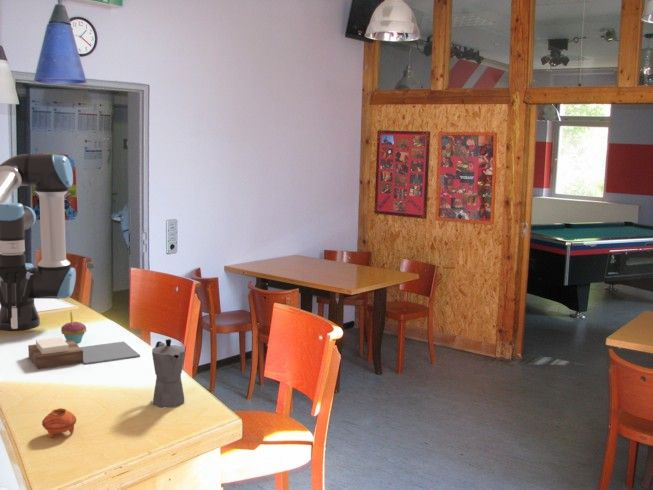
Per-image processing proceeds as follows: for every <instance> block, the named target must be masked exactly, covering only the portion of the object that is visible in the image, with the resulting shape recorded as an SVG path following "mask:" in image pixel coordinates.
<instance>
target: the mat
mask: <svg viewBox="0 0 653 490" xmlns="http://www.w3.org/2000/svg"><path fill="white" fill-rule="evenodd" d="M79 347H80V348H81V349H82V350H83V363H82V364H84V365H92V364H93V365H94V364H98V363H105V362H112V361H119V360H120V361H121V360H125V359H126V360H127V359H133V358H140V357H141V354H139V353H138V352H137V351H136V350H135V349H133V348H132V347H131V346H130V345H128V344H127V342H125V341H117V342H110V343H102V344H94V345H87V346H79Z"/></svg>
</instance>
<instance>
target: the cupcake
mask: <svg viewBox="0 0 653 490" xmlns="http://www.w3.org/2000/svg"><path fill="white" fill-rule="evenodd" d="M69 315H70V322H67V323H65V324H63V325H62V326H61V328H60V329H61V330H60V331H61V334H62V335H64V338H65V341H67V340H73V341H74V342H75V343H76V344H79V343H81V342H82V340H83V337H84V335H85V333H86V332H87V326H86V325H85V324H84V323H82V322H78V321H74V317H73V312H72V310H70V312H69Z"/></svg>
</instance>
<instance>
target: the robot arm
mask: <svg viewBox="0 0 653 490" xmlns="http://www.w3.org/2000/svg"><path fill="white" fill-rule="evenodd" d="M73 179H74V174H73V167H72V164H71V162H70V160H69V158H68V157H67V156H66V155H61V154H53V153H52V154H50V153H49V154H42V153H41V154H38V153H37V154H29V153H24V154H23V153H22V154H21V153H20V154H17V155H14V156H12V157H9V158H8V159H7V160H4V161H3V162H1V163H0V330H2V329H4V330H3V331H23V330H29V329H34V328H36V327H39V326H40V324H41V320H40V315H39V313H38V310H37V307H36V306H35V305H36V304H35V299H43V300H44V299H45V300H46V299H51V300H52V299H54V300H55V299H56V300H60V299H61V300H62V299H68V298H70V297H71V296H72V295H73V292H74V289H75V285H76V279H77V273H76V268H75V267H72V266H71V265H72V264H71V261H69V259H67V249H66V248H67V245H66V241H67V240H66V214H65V213H66V212H65V209H66V208H65V195H66V194H67V193H68V192H69V188H71V187H72V186H73V184H74V180H73ZM25 186H26V187H34V192H35V193H36V194H37V195H38V197H39V198H38V199H39V217H40V219H39V220H40V223H39V224H40V242H41V243H40V244H41V260H40V261H39V262H38V263H37V267H34V263H33V264H32V263H30V262H28V263H27V262H26V254H25V253H24V252H26V248H25V247H26V246H25V245H26V244H25V231H26V230H29V229H30V228H31V227H33V226H34V224H35V223H36V220H37V215H36V211H34V209H33V208H31V207H29V206H27V205H23V204H22V203H20V202H7V200H8V198H9V197H10V195H11V194H12V193H13V191H15V190H17V189H18V188H19V187H25Z"/></svg>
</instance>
